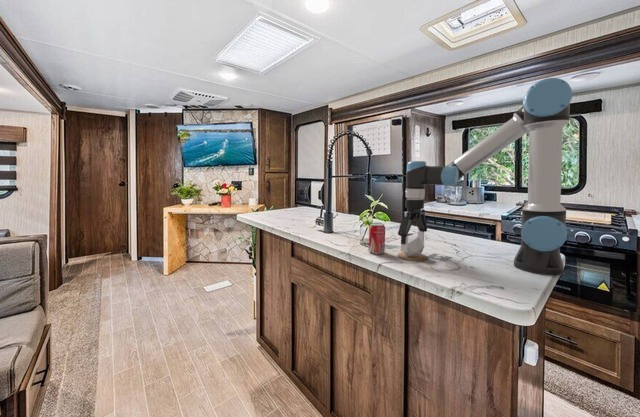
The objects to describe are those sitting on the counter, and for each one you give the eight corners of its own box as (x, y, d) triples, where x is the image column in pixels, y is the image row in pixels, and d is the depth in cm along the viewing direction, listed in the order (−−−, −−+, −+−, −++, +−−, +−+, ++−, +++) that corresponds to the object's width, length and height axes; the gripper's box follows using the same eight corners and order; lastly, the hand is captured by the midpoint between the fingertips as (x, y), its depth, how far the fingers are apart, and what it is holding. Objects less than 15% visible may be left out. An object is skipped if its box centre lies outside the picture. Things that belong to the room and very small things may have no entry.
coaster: (432, 257, 125) (432, 256, 125) (418, 263, 117) (418, 261, 117) (406, 251, 134) (406, 250, 134) (392, 256, 126) (392, 255, 125)
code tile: (452, 257, 125) (452, 257, 125) (444, 261, 120) (444, 260, 120) (434, 253, 131) (434, 253, 131) (425, 257, 125) (425, 256, 125)
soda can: (386, 252, 133) (387, 223, 131) (381, 255, 127) (382, 226, 125) (372, 249, 137) (373, 222, 135) (365, 253, 131) (366, 224, 129)
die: (419, 261, 119) (431, 240, 121) (400, 250, 120) (411, 229, 122) (413, 263, 127) (423, 243, 129) (394, 252, 128) (405, 232, 130)
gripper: (420, 196, 134) (418, 242, 136) (390, 200, 116) (388, 252, 119) (437, 197, 128) (434, 245, 131) (407, 201, 111) (405, 256, 114)
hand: (412, 248), depth 125 cm, fingers open, 13 cm apart
